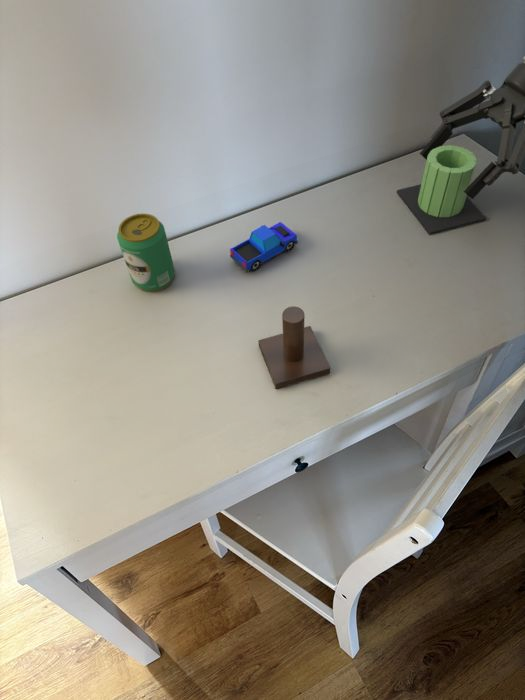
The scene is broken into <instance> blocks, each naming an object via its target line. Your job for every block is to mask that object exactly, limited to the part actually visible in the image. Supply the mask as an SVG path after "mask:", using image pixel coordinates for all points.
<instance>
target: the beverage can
mask: <svg viewBox="0 0 525 700" xmlns="http://www.w3.org/2000/svg"><path fill="white" fill-rule="evenodd" d="M166 233H167V232H166V230H165V225H164V224H163V223H162V222H161V221H160V220H159V219H158V217H156V216H155V215H153V214H149V213H135V214H132V215H130V216H128V217H126V218H124V219H123V220H122V221H121V222H120V224H119V225H118V231H117V234H116V240H117V242H118V245H119V248H120V251H121V253H122V257H123V259H124V262H125V265H126V268H127V271H128V273H129V276H130V280H131V281H132V283H133V285H134V286H135V287H137V288H138V289H139V290H140V291H144V292H147V293H156V292H160V291H163V290H164V289H166V288H168V287H169V286H170V285H171V283H172V282H173V281H174V277H175V274H176V269H175V265H174V261H173V257H172V253H171V249H170V246H169V245H170V244H169V241H168V237H167V234H166Z"/></svg>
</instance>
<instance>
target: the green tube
mask: <svg viewBox="0 0 525 700" xmlns="http://www.w3.org/2000/svg"><path fill="white" fill-rule="evenodd" d="M477 164H478V159H477V157H476V155H475V154H474V153H473V152H472V151H471V150H469V149H467V148H465V147H462V146H458V145H452V144H451V145H450V144H449V145H442V146H440V147H437V148H435V149H432V150H431V152H430V153H429V154H428V156H427V160H425V166H424V171H423V175H422V179H421V183H420V184H421V188H420V193H419V197H418V204H419V207H420V208H421V209H422V210H423V211H424V212H426V213H428V214H429V215H432V216H436V217H438V216H439V217H450V216H451V217H452V216H454V215H456V214H458V213H459V212H461V210H462V208H463V206H464V203H465V199H466V196H467V197H468V195H467V194H466V193H465V192H464V191H465V190H466V188H467V187H468V186H469V185H470V184H471V183H472V180H473V176H474V173H475V170H476V167H477Z"/></svg>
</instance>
